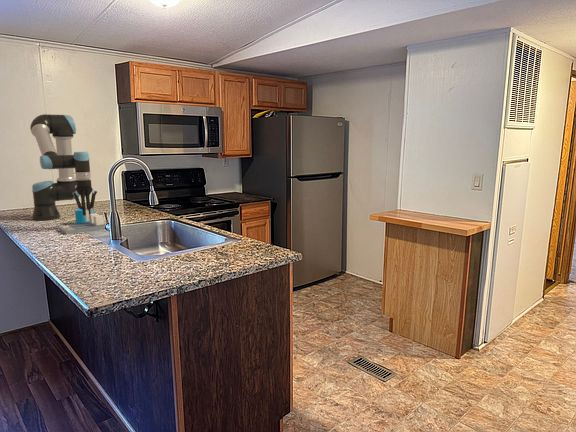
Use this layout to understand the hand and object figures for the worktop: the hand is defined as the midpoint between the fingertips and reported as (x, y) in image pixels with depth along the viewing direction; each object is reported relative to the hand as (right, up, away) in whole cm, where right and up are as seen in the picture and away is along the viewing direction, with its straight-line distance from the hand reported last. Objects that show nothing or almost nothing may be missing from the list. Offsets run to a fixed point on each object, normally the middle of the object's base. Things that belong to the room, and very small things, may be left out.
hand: (87, 220), depth 232 cm
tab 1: (+3, -1, +3) cm, 4 cm away
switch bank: (+2, -5, -3) cm, 6 cm away
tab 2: (+8, -3, -3) cm, 9 cm away
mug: (-7, -2, +14) cm, 16 cm away
